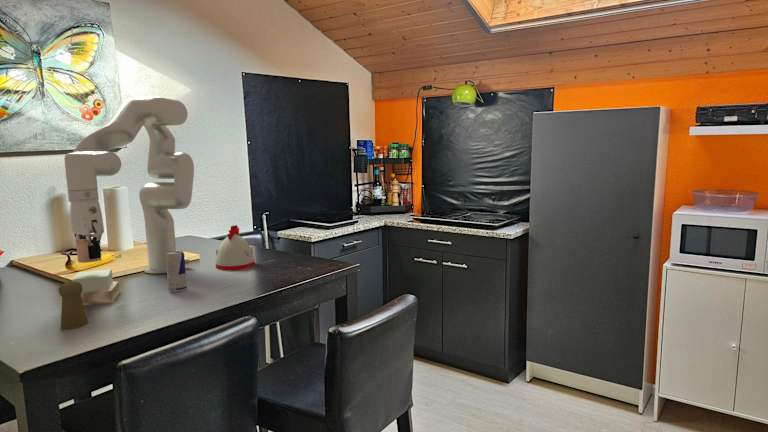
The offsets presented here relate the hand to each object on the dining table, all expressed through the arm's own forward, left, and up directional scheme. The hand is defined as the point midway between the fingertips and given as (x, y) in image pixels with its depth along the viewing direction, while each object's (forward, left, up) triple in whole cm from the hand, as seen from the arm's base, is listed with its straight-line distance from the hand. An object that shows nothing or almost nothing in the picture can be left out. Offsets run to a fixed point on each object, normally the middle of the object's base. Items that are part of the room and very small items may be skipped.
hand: (89, 256), depth 153 cm
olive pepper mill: (-1, +23, -13) cm, 26 cm away
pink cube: (0, 0, -1) cm, 1 cm away
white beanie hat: (-40, -30, -13) cm, 52 cm away
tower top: (0, 0, -9) cm, 9 cm away
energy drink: (-23, -2, -13) cm, 27 cm away
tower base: (-1, 0, -13) cm, 13 cm away
